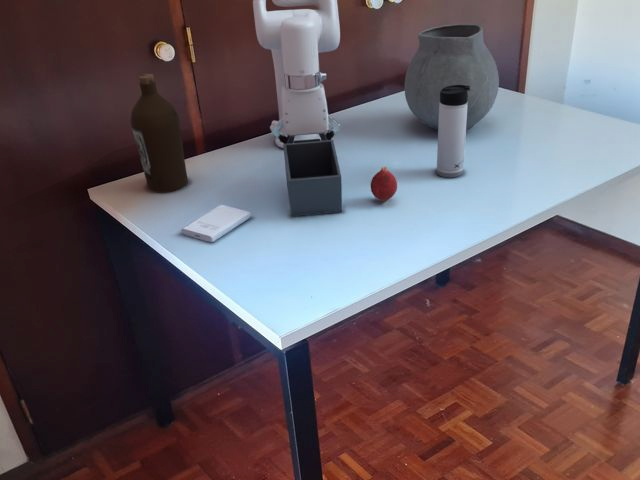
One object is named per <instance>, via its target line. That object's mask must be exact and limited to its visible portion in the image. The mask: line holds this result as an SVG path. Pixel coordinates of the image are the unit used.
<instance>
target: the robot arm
mask: <svg viewBox="0 0 640 480" xmlns="http://www.w3.org/2000/svg"><path fill="white" fill-rule="evenodd" d="M271 1H272V3H273V4H274V5H276V6H277V7H283V8H284V7H286V8H287V7H302V6H303V7H304V6H316V7H317V9H311V8H298V9H281V10H270V11H267V0H252V8H253V18H254V26H255V34H256V38H257V39H256V40H257V42H258V43H259V45H260V46H261V47H262V48H263V49H266V50H270V51H271V56H272V62H273V69H274V77H275V88H276V99H277V109H278V119H279V120H272V121H271V125H270V126H269V130H270V131H271V135H273V136H274V137H275V139H274V140H275V144H276V146H277V147H279V148H280V149H283V150H284V148H283V144H289V143H294V141H298V140H310V139H320V140H321V141H325V140H333V138H334V136H335V135H336V134H337V133H338V132H339V130H341V123H339V122H338V121H337V120H336V119H335V118H334V117H333V116H332V115H330V114H329V111H328V110H329V109H328V102H327V98H326V89H325V85H324V84H323V83H322V82H324V81H326V80H327V73H326V72H324V73H323V72H321V71H320V60H319V59H320V58H319V53H328V52H333V51H336V50H337V49H338V47H339V46H340V43H341V28H340V27H341V25H340V17H339V6H338V0H271ZM329 125H331V128H329Z"/></svg>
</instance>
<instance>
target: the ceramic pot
mask: <svg viewBox="0 0 640 480" xmlns="http://www.w3.org/2000/svg"><path fill="white" fill-rule="evenodd" d="M417 37H418V40H419V41H418V43H419V44H418V48H417V50H416V51H415V53H414V55H413V57H412V58H411V60H410V63H409V65H408V66H407V70H406V73H405V77H404V97H405V101H406V103H407V106H408V108H409V110H410V112H412V114H413V115H414V116H415V117H416V118H417V120H419V121H421V122H422V123H423V124H424V125H426V126H427V127H429V128H432V129H435V130H438V126H439V105H440V104H439V102H440V91H441V90H442V89H443V88H445V87H447V86H452V85H466V86H470V91H469V89H468V104H467V105H468V107H467V122H466V130H468V129H471V128H473V127H474V126H475V125H476V124H478V123H479V122H481V120H482V119H484V118H485V116H486V115H488V113H489V112H490V111H491V110H492V108H493V106H494V105H495V102H496V99H497V97H498V93H499V88H500V77H499V71H498V67H497V66H498V65H497V63H496V61H495V58H494V56H493V55H492V53H491V51H490V50H489V49H488V47H487V45H486V44H485V42H484V29H483V26H481V25H479V24H474V23H473V24H472V23H456V24H447V25H446V24H445V25H440V26H434V27H431V28H427V29H424V30H422V31H421V32H419V33H418V36H417Z"/></svg>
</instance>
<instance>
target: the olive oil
mask: <svg viewBox="0 0 640 480" xmlns="http://www.w3.org/2000/svg"><path fill="white" fill-rule="evenodd" d="M138 80H139V83H138V84H139V87H140V93H141V94H140V97H138V100H137V101H136V102H135V104H134V105H133V107H132V109H131V112H130V126H131V130H132V134H133V138H134V140H135V145H136V147H137V152H138V155H139V158H140V162H141V165H142V169H143V170H142V171H143V173H144V177H145V181H146V185H147V188H148V189H149V190H150V191H152V192H155V193H169V192H174V191H178V190H180V189H183V188H184V187H186V186H187V185H188V184H189V183H188V182H189V179H188V174H187V173H188V172H187V166H186V160H185V152H184V145H183V139H182V129H181V122H180V116H179V114H178V111H177V109H176V108H175V106H174V105H173V103H171V102H170V101H169V100H167V99H166V98H165V97H164V96H162V95H161V94H160V93H159V92H158V90H157V83H156V81H155V76H154V74H153V73H142V74H139V76H138Z"/></svg>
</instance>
